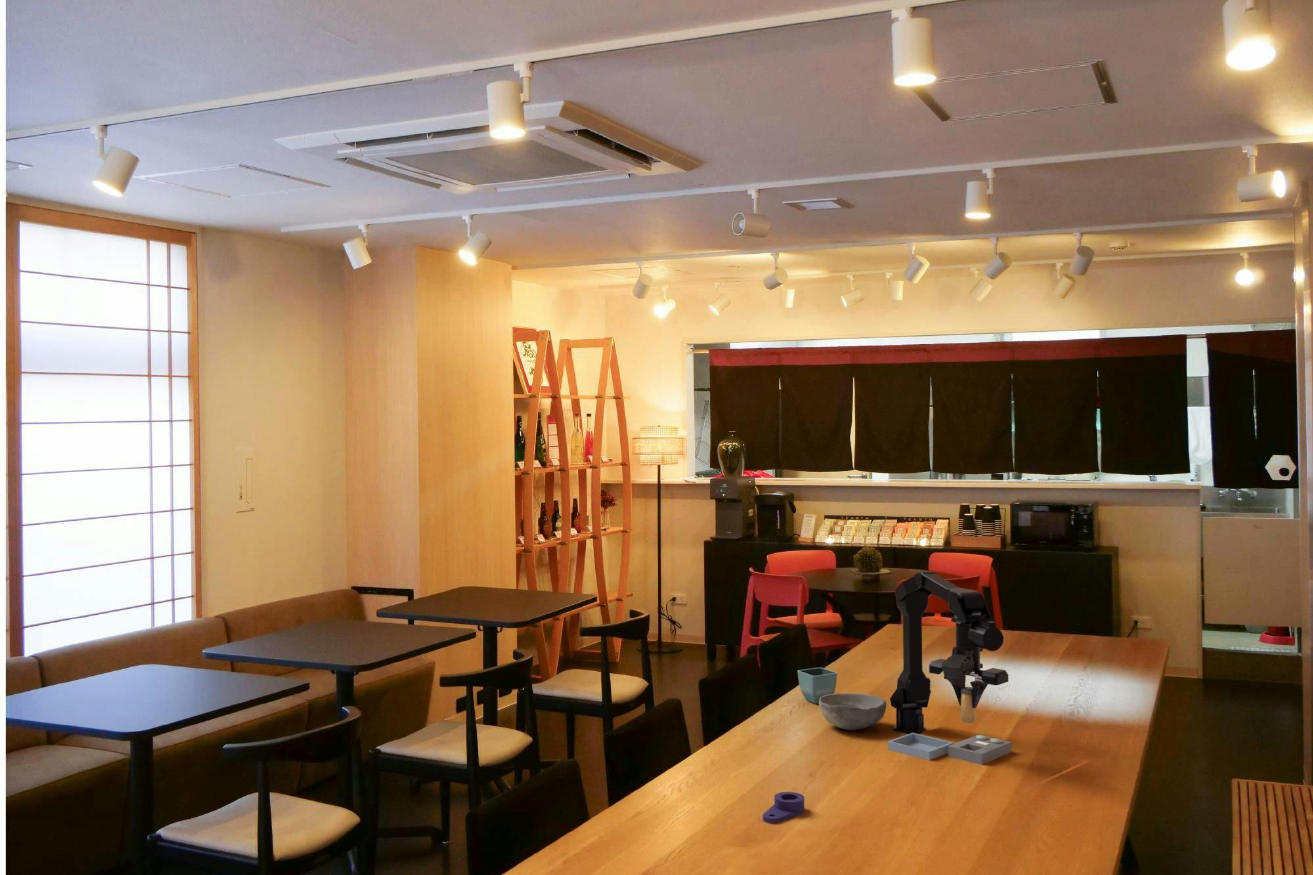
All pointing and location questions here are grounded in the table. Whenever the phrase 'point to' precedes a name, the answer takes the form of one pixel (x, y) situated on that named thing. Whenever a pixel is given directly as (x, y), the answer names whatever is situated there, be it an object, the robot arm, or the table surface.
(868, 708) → the bowl
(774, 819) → the lever
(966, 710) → the cylinder
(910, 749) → the parts tray
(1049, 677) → the table surface
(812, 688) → the flower pot
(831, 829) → the table surface
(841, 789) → the table surface
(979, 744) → the panel
